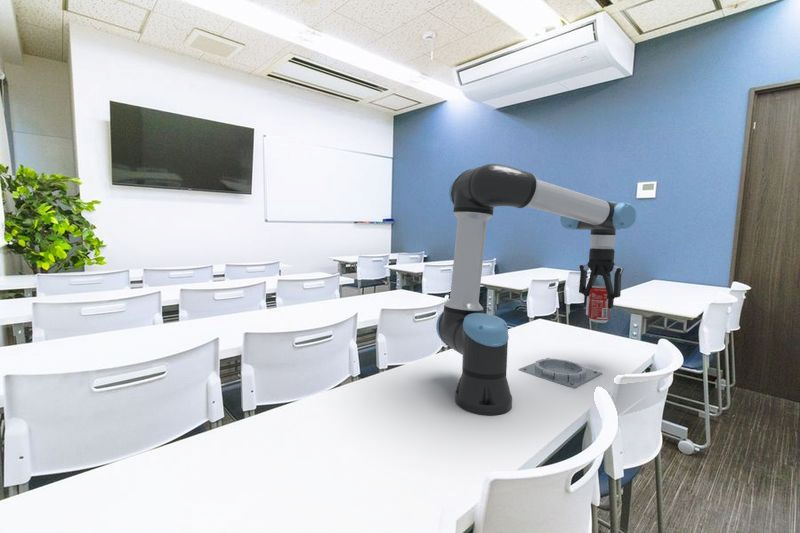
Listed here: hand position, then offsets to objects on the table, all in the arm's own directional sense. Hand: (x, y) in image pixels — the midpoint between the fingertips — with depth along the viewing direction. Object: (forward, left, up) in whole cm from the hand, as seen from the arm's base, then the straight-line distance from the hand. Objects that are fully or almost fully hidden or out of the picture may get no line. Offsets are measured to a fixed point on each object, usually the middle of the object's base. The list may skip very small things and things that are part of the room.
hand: (597, 315), depth 132 cm
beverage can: (0, -1, -2) cm, 2 cm away
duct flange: (-15, +5, -18) cm, 24 cm away
